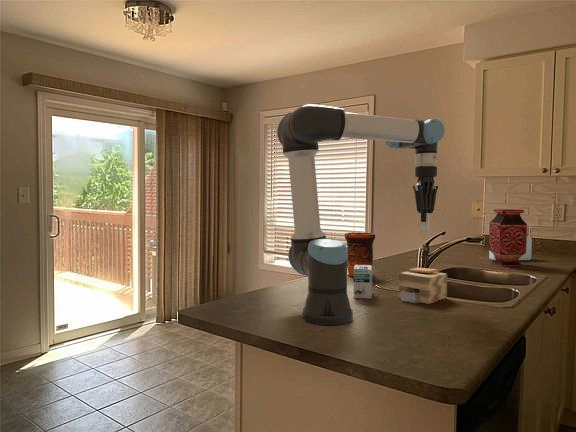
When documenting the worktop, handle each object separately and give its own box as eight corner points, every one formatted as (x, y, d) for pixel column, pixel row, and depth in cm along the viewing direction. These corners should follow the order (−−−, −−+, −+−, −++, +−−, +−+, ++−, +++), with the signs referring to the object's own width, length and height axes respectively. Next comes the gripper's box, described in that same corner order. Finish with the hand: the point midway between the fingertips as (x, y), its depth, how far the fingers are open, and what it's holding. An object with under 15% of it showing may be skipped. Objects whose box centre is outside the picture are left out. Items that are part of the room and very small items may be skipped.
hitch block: (428, 303, 147) (428, 277, 146) (399, 297, 156) (399, 273, 155) (446, 298, 154) (447, 273, 154) (417, 292, 164) (418, 269, 163)
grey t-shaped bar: (415, 303, 147) (415, 293, 147) (400, 300, 152) (401, 291, 151) (441, 296, 158) (441, 287, 158) (427, 293, 163) (427, 284, 162)
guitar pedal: (524, 258, 255) (524, 236, 254) (531, 260, 249) (531, 237, 248) (488, 259, 252) (488, 236, 251) (494, 260, 246) (494, 237, 245)
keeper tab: (407, 270, 158) (407, 268, 158) (417, 269, 162) (417, 267, 162) (428, 272, 152) (428, 270, 152) (438, 270, 156) (438, 268, 156)
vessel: (337, 274, 201) (338, 232, 201) (356, 272, 211) (357, 231, 210) (361, 279, 191) (362, 234, 190) (380, 276, 200) (381, 233, 200)
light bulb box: (372, 299, 154) (372, 269, 153) (353, 298, 155) (353, 268, 155) (372, 292, 164) (372, 264, 164) (354, 291, 166) (354, 264, 165)
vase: (499, 267, 223) (500, 209, 222) (488, 263, 237) (489, 208, 236) (526, 267, 223) (527, 209, 222) (513, 263, 237) (514, 208, 235)
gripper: (425, 164, 148) (424, 232, 149) (445, 166, 156) (444, 230, 157) (406, 165, 153) (405, 231, 154) (426, 167, 162) (426, 229, 163)
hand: (425, 230), depth 156 cm, fingers closed
